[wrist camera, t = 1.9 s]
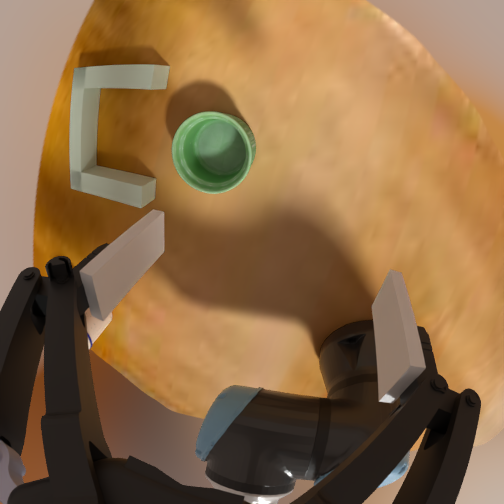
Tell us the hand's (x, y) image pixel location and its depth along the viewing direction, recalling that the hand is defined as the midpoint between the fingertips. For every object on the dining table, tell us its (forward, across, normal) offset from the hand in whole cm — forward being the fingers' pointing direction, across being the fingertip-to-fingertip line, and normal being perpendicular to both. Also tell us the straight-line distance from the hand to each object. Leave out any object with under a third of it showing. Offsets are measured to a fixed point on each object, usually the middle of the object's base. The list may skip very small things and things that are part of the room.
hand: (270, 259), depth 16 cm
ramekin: (+19, +9, -1) cm, 21 cm away
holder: (+19, +24, -2) cm, 31 cm away
